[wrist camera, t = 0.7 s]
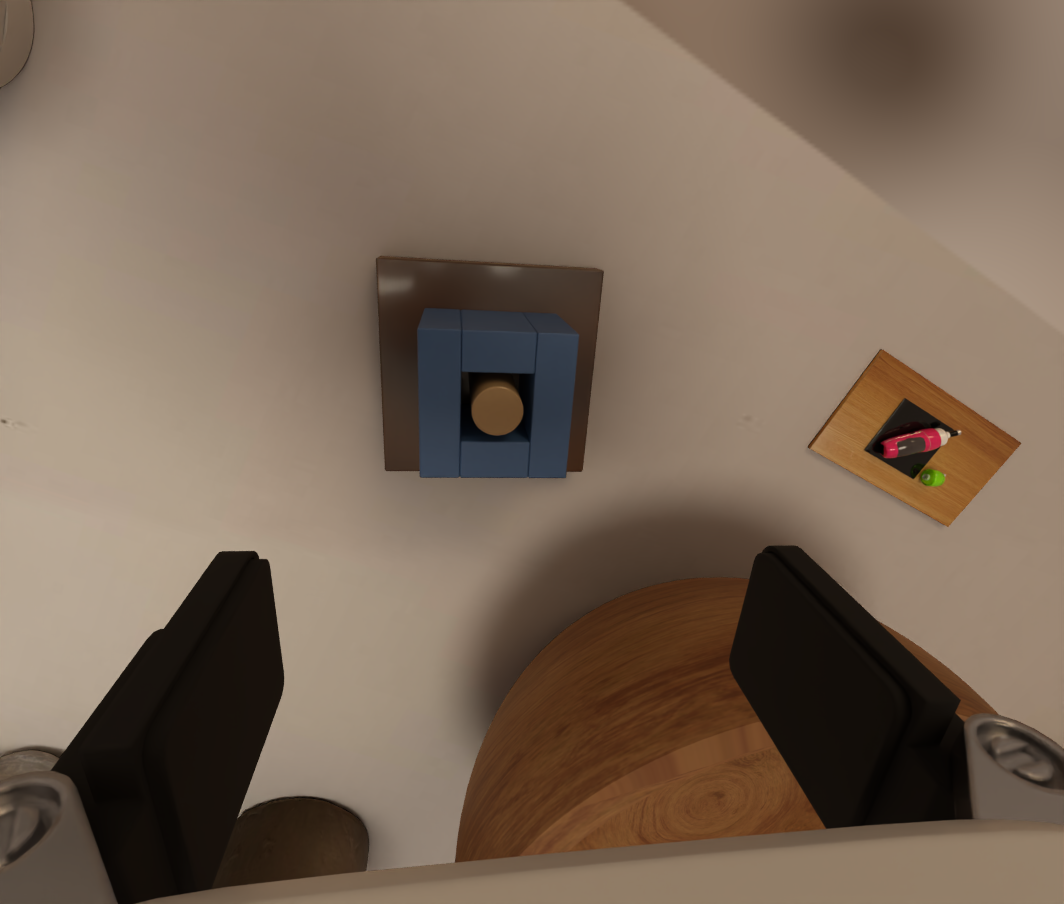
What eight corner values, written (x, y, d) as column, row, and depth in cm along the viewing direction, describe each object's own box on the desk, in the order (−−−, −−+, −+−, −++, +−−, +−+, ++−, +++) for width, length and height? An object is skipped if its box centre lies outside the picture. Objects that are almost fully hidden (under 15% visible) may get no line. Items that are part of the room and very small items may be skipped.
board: (945, 525, 35) (965, 537, 33) (807, 447, 31) (824, 457, 30) (1018, 442, 33) (1042, 451, 32) (880, 349, 30) (901, 355, 28)
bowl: (784, 416, 30) (1058, 579, 17) (860, 706, 40) (1070, 959, 27) (377, 602, 32) (317, 898, 18) (549, 839, 42) (596, 1146, 28)
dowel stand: (379, 255, 25) (354, 267, 19) (598, 268, 26) (641, 282, 20) (387, 461, 28) (369, 527, 22) (578, 462, 30) (609, 524, 24)
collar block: (424, 307, 25) (417, 327, 20) (557, 313, 25) (579, 334, 21) (425, 434, 27) (419, 478, 22) (547, 435, 28) (566, 478, 23)
